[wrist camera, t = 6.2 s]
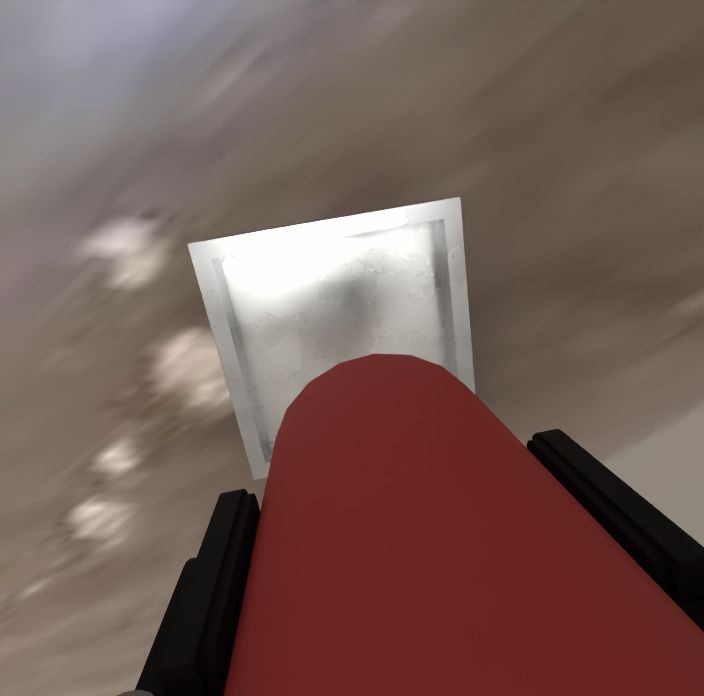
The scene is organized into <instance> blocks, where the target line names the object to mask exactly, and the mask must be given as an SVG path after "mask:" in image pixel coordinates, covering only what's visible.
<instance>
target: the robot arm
mask: <svg viewBox="0 0 704 696" xmlns="http://www.w3.org/2000/svg"><path fill="white" fill-rule="evenodd" d="M527 449H528V450H529V451H530V452H531V453H532V454H533V455H534V456H535V457H536V458H537V460H538V461H539V462H540V463H541V464H542V465H543V466H544V467H545V468H546V469H547V470H548V471H549V472H550V473H551V474H552V475H553V476H554V477H555V478H556V479H557V480H558V481H559V482H560V483H561V484H562V486H563V487H564V488H565V489H566V490H567V491H568V492H569V493H570V494H571V495H572V496H573V497H574V498H575V499H576V500H577V501H578V502H579V503H580V504H581V505H582V506H583V507H584V508H585V509H586V511H587V512H588V513H589V514H590V515H591V516H592V517H593V518H594V519H595V520H596V521H597V522H598V523H599V524H600V525H601V526H602V527H603V528H604V529H605V530H606V531H607V532H608V533H609V534H610V535H611V537H612V538H613V539H614V540H615V541H616V542H617V543H618V544H619V545H620V546H621V547H622V548H623V549H624V550H625V551H626V552H627V553H628V554H629V555H630V556H631V557H632V558H633V559H634V560H635V561H636V563H637V564H638V565H639V566H640V567H641V568H642V569H643V570H644V571H645V572H646V573H647V574H648V575H649V576H650V577H651V578H652V579H653V580H654V581H655V582H656V583H657V584H658V585H659V586H660V587H661V589H662V590H663V591H664V592H665V593H666V594H667V595H668V596H669V597H670V598H671V599H672V600H673V601H674V602H675V603H676V604H677V605H678V606H679V607H680V608H681V609H682V610H683V611H684V612H685V614H686V615H687V616H688V617H689V618H690V619H691V620H692V621H693V622H694V623H695V624H696V625H697V626H698V627H699V628H700V629H701V630H702V631H703V632H704V547H703V546H701V545H700V544H699V543H698V542H697V541H695V540H694V539H693V538H692V537H691V536H689V535H688V534H687V533H685V531H683V530H682V529H681V528H680V527H678V526H677V525H676V524H675V523H674V522H672V521H671V520H670V519H669V518H667V517H666V516H665V515H664V514H662V513H661V512H660V511H659V510H658V509H656V508H655V507H654V506H653V505H652V504H650V503H649V502H648V501H647V500H645V499H644V498H643V497H642V496H640V495H639V494H638V493H637V492H636V491H634V490H633V489H632V488H631V487H630V486H628V485H627V484H626V483H625V482H623V481H622V480H621V479H620V478H618V477H617V476H616V475H615V474H614V473H612V472H611V471H610V470H609V469H608V468H606V467H605V466H604V465H603V464H602V463H600V462H599V461H598V460H597V459H595V458H594V457H593V456H592V455H591V454H589V453H588V452H587V451H586V450H584V449H583V448H582V447H581V446H580V445H578V444H577V443H576V442H575V441H573V440H572V439H571V438H570V437H569V436H567V435H566V434H565V433H564V432H562V431H561V430H559V429H555V430H549V431H544V432H539V433H535V434H534V435H533V438H532V440H529V441H528V442H527ZM259 517H260V509H259V505H258V502H257V498H256V496H255V494H254V493H253V494H248V493H247V491H246V490H245V489H241V490H235V491H230V492H225V493H221V494H220V496H219V498H218V501H217V504H216V506H215V509H214V512H213V515H212V517H211V520H210V523H209V525H208V528H207V531H206V534H205V536H204V539H203V542H202V545H201V547H200V550H199V553H198V555H197V557H196V558H191V559H189V560H188V561H187V562H186V564H185V566H184V567H183V570H182V572H181V575H180V577H179V580H178V582H177V585H176V587H175V590H174V592H173V595H172V598H171V600H170V603H169V605H168V608H167V610H166V613H165V615H164V618H163V620H162V623H161V625H160V628H159V630H158V633H157V635H156V638H155V640H154V643H153V646H152V648H151V651H150V653H149V656H148V658H147V661H146V663H145V666H144V668H143V671H142V673H141V676H140V678H139V681H138V683H137V686H136V688H135V690H134V691H128V692H124V693H122V694H120V695H118V696H224V692H225V687H226V682H227V677H228V672H229V667H230V662H231V657H232V652H233V647H234V642H235V637H236V632H237V627H238V622H239V617H240V612H241V607H242V602H243V597H244V592H245V587H246V582H247V577H248V572H249V567H250V562H251V557H252V552H253V547H254V542H255V537H256V532H257V527H258V522H259Z"/></svg>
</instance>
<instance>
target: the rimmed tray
mask: <svg viewBox="0 0 704 696" xmlns="http://www.w3.org/2000/svg"><path fill="white" fill-rule="evenodd" d="M188 247H189V251H190V254H191V258H192V261H193V265H194V269H195V272H196V276H197V279H198V283H199V286H200V290H201V293H202V297H203V301H204V304H205V308H206V311H207V315H208V318H209V322H210V325H211V329H212V333H213V336H214V340H215V343H216V347H217V350H218V354H219V357H220V361H221V365H222V368H223V372H224V375H225V379H226V382H227V386H228V389H229V393H230V397H231V400H232V404H233V407H234V411H235V414H236V418H237V421H238V425H239V428H240V432H241V436H242V439H243V443H244V446H245V450H246V453H247V457H248V460H249V464H250V468H251V471H252V475H253V478H254V480H256V479H261V478H266V477H268V472H269V468H270V463H271V458H272V453H273V448H274V443H275V438H276V436H277V433H278V430H279V428H280V425H281V422H282V420H283V417H284V415H285V412H286V409H287V408H288V407H289V405H290V404H291V403H292V402H293V401H294V399H295V398H296V397H297V396H298V395H299V393H300V392H301V391H302V390H303V389H304V387H305V386H306V385H307V384H308V383H309V382H310V381H312V380H313V379H315V378H316V377H318V376H320V375H321V374H323V373H324V372H326V371H327V370H329V369H331V368H332V367H334V366H335V365H337V364H339V363H341V362H345V361H349V360H352V359H356V358H360V357H363V356H367V355H371V354H374V353H376V354H405V355H413V356H415V357H418V358H421V359H424V360H426V361H429V362H432V363H435V364H437V365H440V366H443V367H444V368H445V369H446V370H448V371H449V372H450V373H451V374H453V375H454V376H455V377H456V378H457V379H459V380H460V381H461V382H462V383H464V384H465V385H466V386H467V387H468V388H469V389H470V390H471V391H472V392H473V393H474V394H475V383H474V370H473V357H472V344H471V331H470V318H469V305H468V292H467V279H466V266H465V253H464V240H463V227H462V214H461V201H460V197H457V198H451V199H445V200H439V201H434V202H428V203H422V204H416V205H410V206H404V207H399V208H393V209H387V210H381V211H375V212H370V213H364V214H358V215H352V216H346V217H341V218H335V219H329V220H323V221H317V222H312V223H306V224H300V225H294V226H288V227H282V228H277V229H271V230H265V231H259V232H253V233H248V234H242V235H236V236H230V237H224V238H219V239H213V240H207V241H201V242H195V243H190V244H188Z"/></svg>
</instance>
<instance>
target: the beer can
mask: <svg viewBox="0 0 704 696" xmlns="http://www.w3.org/2000/svg"><path fill="white" fill-rule="evenodd" d="M224 696H704V632H703V631H702V630H701V629H700V628H699V627H698V626H697V625H696V624H695V623H694V622H693V621H692V620H691V619H690V618H689V617H688V616H687V615H686V614H685V612H684V611H683V610H682V609H681V608H680V607H679V606H678V605H677V604H676V603H675V602H674V601H673V600H672V599H671V598H670V597H669V596H668V595H667V594H666V593H665V592H664V591H663V590H662V589H661V587H660V586H659V585H658V584H657V583H656V582H655V581H654V580H653V579H652V578H651V577H650V576H649V575H648V574H647V573H646V572H645V571H644V570H643V569H642V568H641V567H640V566H639V565H638V564H637V563H636V561H635V560H634V559H633V558H632V557H631V556H630V555H629V554H628V553H627V552H626V551H625V550H624V549H623V548H622V547H621V546H620V545H619V544H618V543H617V542H616V541H615V540H614V539H613V538H612V537H611V535H610V534H609V533H608V532H607V531H606V530H605V529H604V528H603V527H602V526H601V525H600V524H599V523H598V522H597V521H596V520H595V519H594V518H593V517H592V516H591V515H590V514H589V513H588V512H587V511H586V509H585V508H584V507H583V506H582V505H581V504H580V503H579V502H578V501H577V500H576V499H575V498H574V497H573V496H572V495H571V494H570V493H569V492H568V491H567V490H566V489H565V488H564V487H563V486H562V484H561V483H560V482H559V481H558V480H557V479H556V478H555V477H554V476H553V475H552V474H551V473H550V472H549V471H548V470H547V469H546V468H545V467H544V466H543V465H542V464H541V463H540V462H539V461H538V460H537V458H536V457H535V456H534V455H533V454H532V453H531V452H530V451H529V450H528V449H527V448H526V447H525V446H524V445H523V444H522V443H521V442H520V441H519V440H518V439H517V438H516V437H515V436H514V435H513V434H512V432H511V431H510V430H509V429H508V428H507V427H506V426H505V425H504V424H503V423H502V422H501V421H500V420H499V419H498V418H497V417H496V416H495V415H494V414H493V413H492V412H491V411H490V410H489V409H488V408H487V406H486V405H485V404H484V403H483V402H482V401H481V400H480V399H479V398H478V397H477V396H476V395H475V394H474V393H473V392H472V391H471V390H470V389H469V388H468V387H467V386H466V385H465V384H464V383H462V382H461V381H460V380H459V379H457V378H456V377H455V376H454V375H453V374H451V373H450V372H449V371H448V370H446V369H445V368H444V367H443V366H440V365H437V364H435V363H432V362H429V361H426V360H424V359H421V358H418V357H415V356H413V355H405V354H376V353H374V354H371V355H367V356H363V357H360V358H356V359H352V360H349V361H345V362H341V363H339V364H337V365H335V366H334V367H332V368H331V369H329V370H327V371H326V372H324V373H323V374H321V375H320V376H318V377H316V378H315V379H313V380H312V381H310V382H309V383H308V384H307V385H306V386H305V387H304V389H303V390H302V391H301V392H300V393H299V395H298V396H297V397H296V398H295V399H294V401H293V402H292V403H291V404H290V405H289V407H288V408H287V409H286V412H285V415H284V417H283V420H282V422H281V425H280V428H279V430H278V433H277V436H276V438H275V443H274V448H273V453H272V458H271V463H270V468H269V472H268V477H267V482H266V487H265V492H264V497H263V502H262V507H261V512H260V517H259V522H258V527H257V532H256V537H255V542H254V547H253V552H252V557H251V562H250V567H249V572H248V577H247V582H246V587H245V592H244V597H243V602H242V607H241V612H240V617H239V622H238V627H237V632H236V637H235V642H234V647H233V652H232V657H231V662H230V667H229V672H228V677H227V682H226V687H225V692H224Z"/></svg>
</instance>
